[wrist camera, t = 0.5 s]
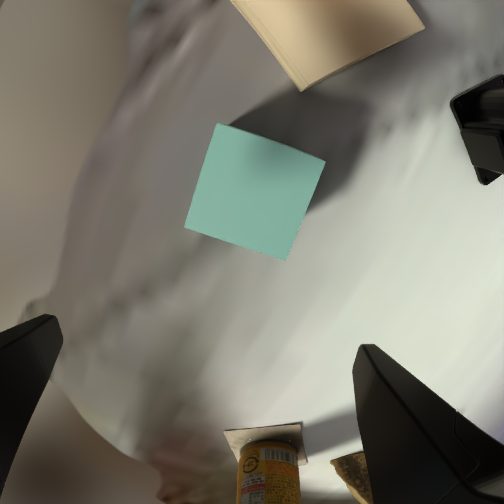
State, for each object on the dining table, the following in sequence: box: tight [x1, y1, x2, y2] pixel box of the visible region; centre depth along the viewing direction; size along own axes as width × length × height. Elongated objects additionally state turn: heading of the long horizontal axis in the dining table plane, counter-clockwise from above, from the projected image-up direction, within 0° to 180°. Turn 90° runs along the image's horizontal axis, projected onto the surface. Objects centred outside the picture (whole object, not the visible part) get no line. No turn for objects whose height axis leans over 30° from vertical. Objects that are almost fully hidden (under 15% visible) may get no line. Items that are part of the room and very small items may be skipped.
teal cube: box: [184, 123, 326, 261], centre depth 16 cm, size 5×5×5 cm
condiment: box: [223, 424, 307, 504], centre depth 23 cm, size 7×8×12 cm
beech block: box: [230, 0, 425, 92], centre depth 13 cm, size 8×8×4 cm
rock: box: [330, 453, 373, 504], centre depth 28 cm, size 11×9×10 cm
